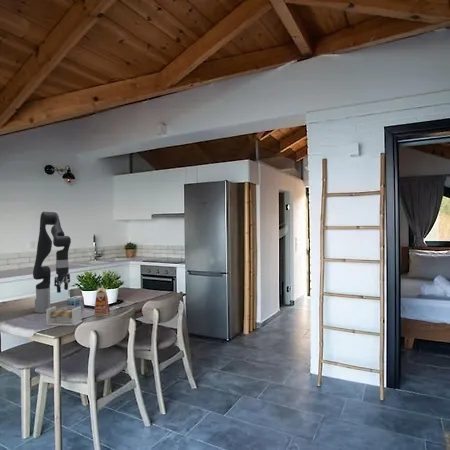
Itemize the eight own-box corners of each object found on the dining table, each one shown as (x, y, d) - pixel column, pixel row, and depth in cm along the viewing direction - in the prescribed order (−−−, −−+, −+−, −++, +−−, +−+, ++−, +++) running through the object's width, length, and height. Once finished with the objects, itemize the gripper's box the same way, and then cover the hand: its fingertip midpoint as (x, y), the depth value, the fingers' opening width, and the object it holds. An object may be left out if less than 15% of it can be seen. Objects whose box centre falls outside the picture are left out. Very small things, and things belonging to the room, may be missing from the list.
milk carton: (97, 312, 254) (96, 285, 254) (110, 312, 255) (109, 284, 254) (93, 316, 245) (93, 287, 244) (107, 315, 245) (106, 287, 245)
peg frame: (45, 325, 225) (45, 309, 225) (53, 321, 234) (53, 306, 234) (75, 325, 223) (74, 309, 223) (82, 321, 232) (82, 306, 232)
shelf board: (51, 316, 226) (51, 311, 226) (56, 314, 231) (56, 309, 231) (72, 316, 225) (72, 312, 225) (76, 314, 230) (76, 310, 230)
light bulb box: (75, 313, 252) (75, 298, 252) (66, 313, 253) (66, 298, 253) (84, 310, 262) (83, 295, 262) (76, 309, 264) (75, 295, 264)
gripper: (63, 264, 238) (63, 288, 239) (50, 267, 224) (50, 293, 225) (73, 265, 238) (73, 289, 238) (61, 268, 223) (61, 293, 224)
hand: (62, 291), depth 231 cm, fingers open, 8 cm apart
